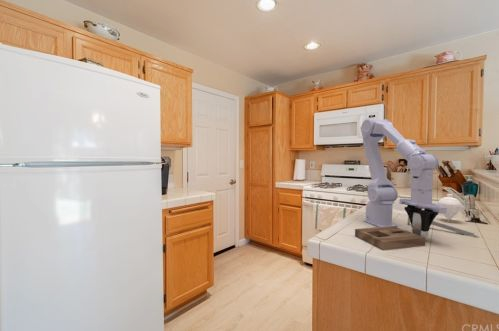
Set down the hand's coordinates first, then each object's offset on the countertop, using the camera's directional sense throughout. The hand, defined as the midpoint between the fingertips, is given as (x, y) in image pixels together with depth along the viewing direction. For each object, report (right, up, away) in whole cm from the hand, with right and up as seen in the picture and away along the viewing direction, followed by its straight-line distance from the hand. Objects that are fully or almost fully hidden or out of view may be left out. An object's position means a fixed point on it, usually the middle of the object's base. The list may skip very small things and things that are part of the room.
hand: (419, 229), depth 75 cm
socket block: (-12, -3, -2) cm, 12 cm away
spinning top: (+28, -3, +20) cm, 35 cm away
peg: (0, -2, 0) cm, 2 cm away
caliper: (+14, -3, +9) cm, 17 cm away
